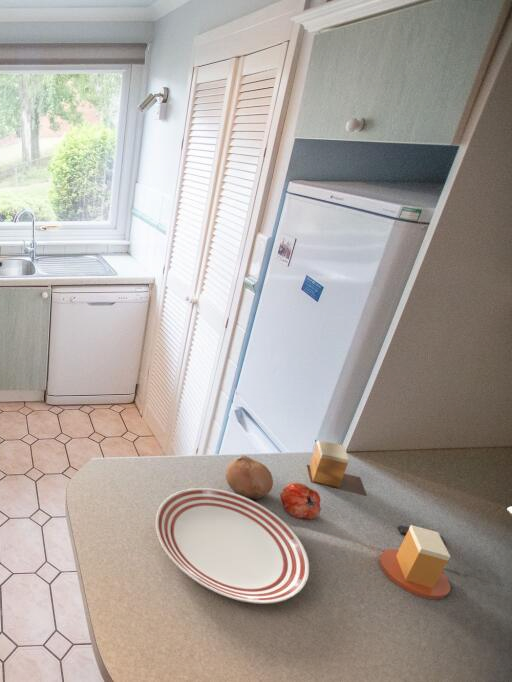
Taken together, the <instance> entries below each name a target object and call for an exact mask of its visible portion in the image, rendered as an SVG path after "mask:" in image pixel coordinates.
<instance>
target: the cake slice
mask: <svg viewBox="0 0 512 682" xmlns="http://www.w3.org/2000/svg"><path fill="white" fill-rule="evenodd" d="M440 536H441V535H440V533H439V531H435V530H432V529H427V528H424V527H420V526H415V525H412V524H410V526H409V530H408V532H407V534H406V536H404V538H403V541H402V542H401V544H400V547H399V548H398V550H399V551H398V553H397V555H396V557H397V559H398V562H399V565H400V567H401V570H402V573H403V575H404V578H405V580H406V581H410V582H413V583H416V584H419V585H423V586H426V587H429V588H434V586H435V584H436V582H437V580H438V579H439V577H440V575H441V573H443V572H444V569H445V568H446V566H447V565H448V562H449V560H450V559H451V554H450V552H449V551H448V549H447V547H446V544H445V545H444V543H443V541H442V539H441V537H440Z"/></svg>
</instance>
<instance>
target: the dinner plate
mask: <svg viewBox="0 0 512 682" xmlns="http://www.w3.org/2000/svg"><path fill="white" fill-rule="evenodd" d="M155 531H156V535H157V538H158V541H159V543H160V545H161V547H162V548H163V550H164V552H165V554H166V555H167V556H168V557H169V559H170V560H171V561H172V562H173V563H174V565H176V567H177V568H178V569H180V570H181V571H182V573H184V574H185V575H186V576H188V578H190V579H192V580H193V581H195V582H196V583H198V584H199V585H201V586H203V587H204V588H206V589H208V590H210V591H212V592H213V593H216V594H218V595H221V596H224V597H226V598H229V599H231V600H236V601H238V602H243V603H248V604H249V603H250V604H255V605H269V604H276V603H281V602H285V601H287V600H289V599H291V598H294V597H295V596H297V594H299V593H300V592H301V591H302V590H303V589H304V587H305V585H306V584H307V582H308V580H309V576H310V561H309V557H308V554H307V551H306V549H305V547H304V545H303V543H302V542H301V540H300V539H299V537H298V536H297V534H296V533H295V532H294V531H293V530H292V529H291V527H290V526H288V524H287V523H286V522H285V521H284V520H283V519H282V518H280V517H279V516H278V515H277V514H275V513H274V512H272V510H269V509H268V508H267V507H265V506H264V505H261V504H260V503H258V502H256V501H255V500H250V499H248V498H245V497H243V496H240V495H238V494H237V493H235V492H231V491H227V490H222V489H216V488H211V487H210V488H209V487H194V488H188V489H187V488H186V489H183V490H179V491H177V492H174V493H172V494H170V495H169V496H168V497H166V498H165V499H164V500H163V501H162V502H161V504H160V505H159V507H158V510H157V512H156V516H155Z"/></svg>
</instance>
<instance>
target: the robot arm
mask: <svg viewBox="0 0 512 682" xmlns="http://www.w3.org/2000/svg"><path fill="white" fill-rule="evenodd" d="M506 509H507V512H508V514H509V515H510V517H511V518H512V506H509V507H507V508H506Z"/></svg>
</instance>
